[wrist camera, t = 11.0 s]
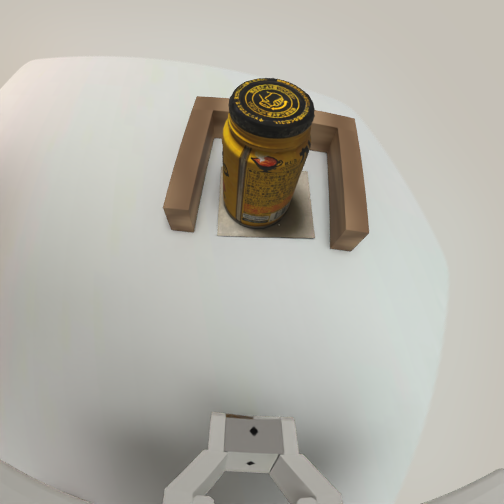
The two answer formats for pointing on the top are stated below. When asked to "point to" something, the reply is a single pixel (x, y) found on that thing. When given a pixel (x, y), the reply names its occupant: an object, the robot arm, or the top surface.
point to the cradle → (322, 139)
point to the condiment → (266, 162)
